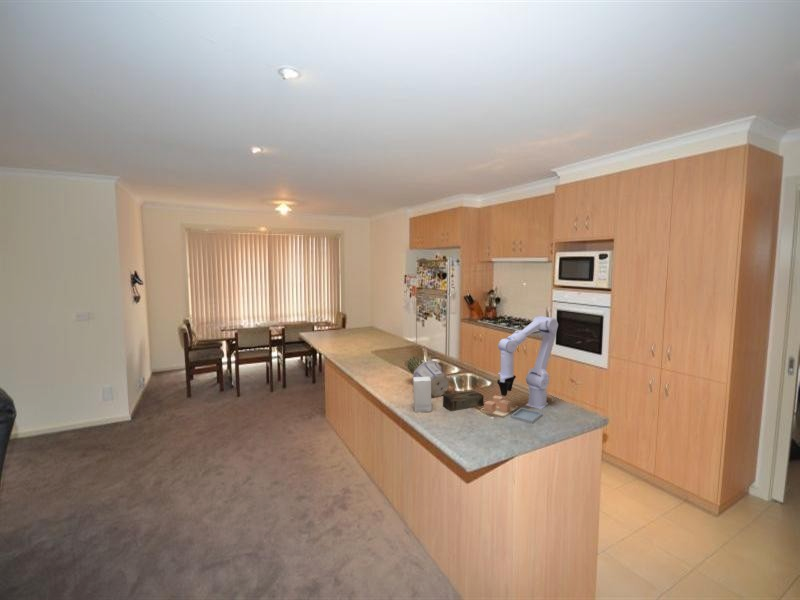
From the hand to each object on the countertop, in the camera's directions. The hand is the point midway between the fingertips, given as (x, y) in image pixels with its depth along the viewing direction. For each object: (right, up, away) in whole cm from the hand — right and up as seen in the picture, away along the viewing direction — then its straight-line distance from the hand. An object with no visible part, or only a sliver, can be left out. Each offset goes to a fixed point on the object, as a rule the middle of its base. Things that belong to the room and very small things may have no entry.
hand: (506, 393), depth 181 cm
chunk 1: (-7, -9, +2) cm, 12 cm away
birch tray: (-2, -9, +4) cm, 10 cm away
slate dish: (+8, -10, -5) cm, 13 cm away
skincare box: (-39, -9, +5) cm, 40 cm away
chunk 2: (-2, -8, +9) cm, 12 cm away
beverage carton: (-19, -9, +9) cm, 23 cm away
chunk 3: (0, -9, +3) cm, 9 cm away
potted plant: (-36, -7, +33) cm, 49 cm away
